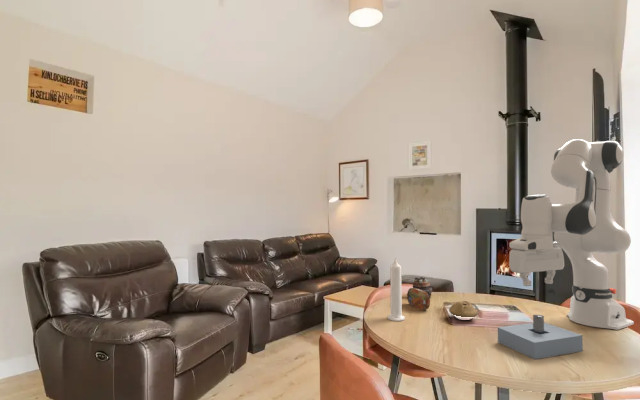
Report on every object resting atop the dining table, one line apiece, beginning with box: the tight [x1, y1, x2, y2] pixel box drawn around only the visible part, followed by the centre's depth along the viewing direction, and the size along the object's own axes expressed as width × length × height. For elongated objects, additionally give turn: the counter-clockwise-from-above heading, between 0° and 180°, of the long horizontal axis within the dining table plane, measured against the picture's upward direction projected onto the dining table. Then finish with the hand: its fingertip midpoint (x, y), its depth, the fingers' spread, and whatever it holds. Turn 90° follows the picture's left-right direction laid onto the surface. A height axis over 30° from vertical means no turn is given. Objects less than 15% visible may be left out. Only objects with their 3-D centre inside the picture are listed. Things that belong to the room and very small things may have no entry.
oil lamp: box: [448, 300, 479, 318], centre depth 143 cm, size 11×15×8 cm
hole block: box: [497, 321, 584, 360], centre depth 113 cm, size 20×14×5 cm
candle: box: [387, 257, 406, 322], centre depth 142 cm, size 7×7×25 cm
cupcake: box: [412, 277, 433, 299], centre depth 177 cm, size 10×10×10 cm
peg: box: [532, 314, 545, 334], centre depth 113 cm, size 3×3×10 cm
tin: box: [406, 287, 431, 311], centre depth 158 cm, size 15×3×8 cm, turn 17°
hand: (538, 284), depth 114 cm, fingers open, 8 cm apart
